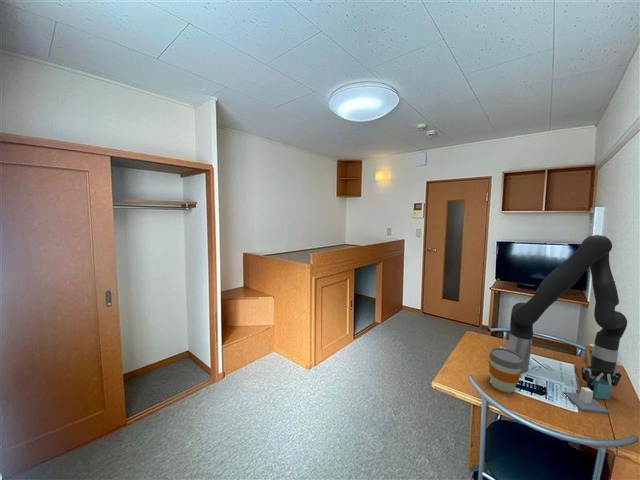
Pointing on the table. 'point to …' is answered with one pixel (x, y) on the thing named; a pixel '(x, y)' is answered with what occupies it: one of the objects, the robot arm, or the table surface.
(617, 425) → the table surface
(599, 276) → the robot arm
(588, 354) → the candy box
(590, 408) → the gray base with block
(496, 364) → the reusable coffee cup
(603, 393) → the teal block
